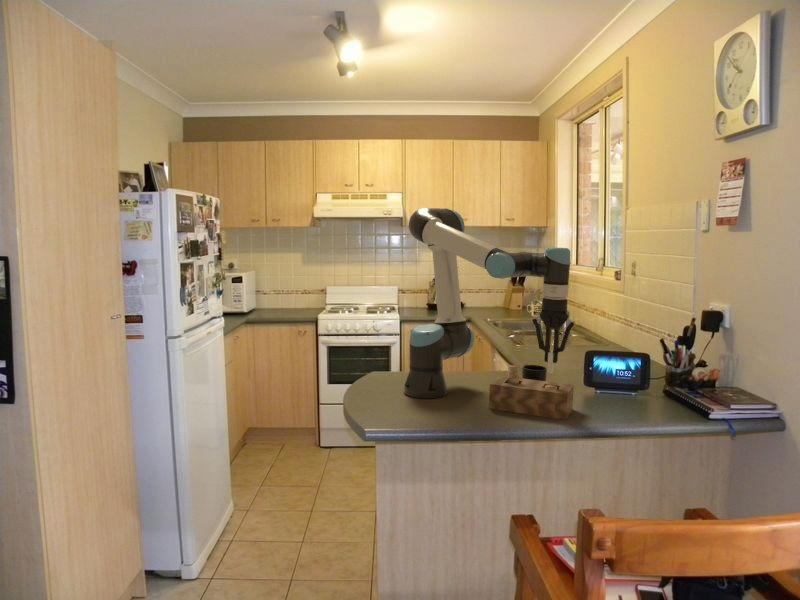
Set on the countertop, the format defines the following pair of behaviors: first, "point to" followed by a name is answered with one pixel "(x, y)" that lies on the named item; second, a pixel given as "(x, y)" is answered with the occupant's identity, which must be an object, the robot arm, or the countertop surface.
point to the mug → (534, 372)
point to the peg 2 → (551, 387)
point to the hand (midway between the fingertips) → (550, 372)
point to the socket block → (532, 397)
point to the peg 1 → (513, 375)
